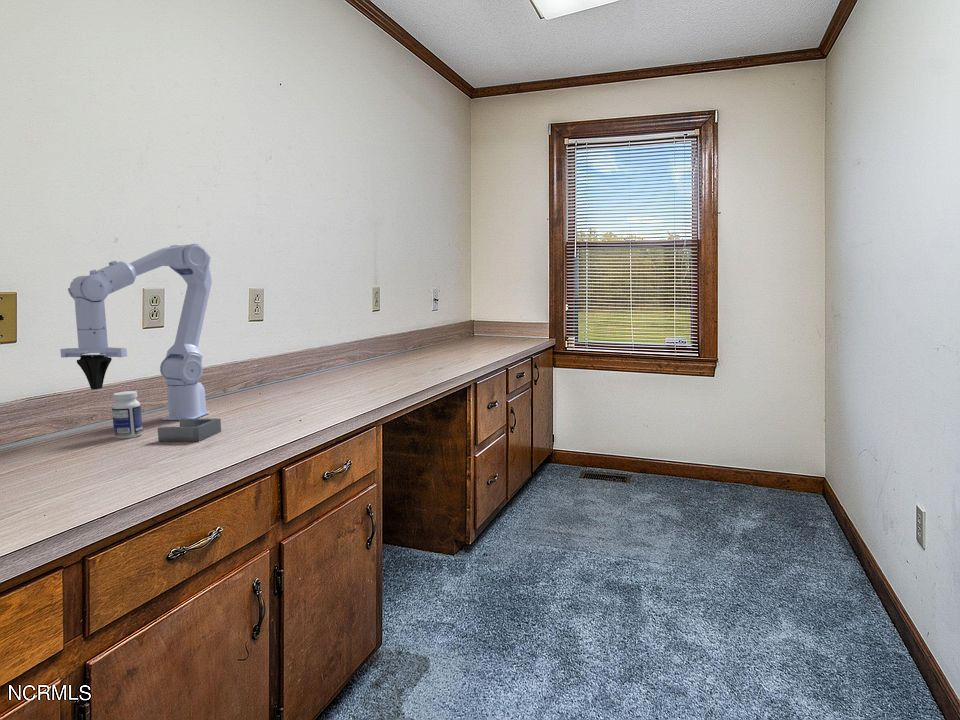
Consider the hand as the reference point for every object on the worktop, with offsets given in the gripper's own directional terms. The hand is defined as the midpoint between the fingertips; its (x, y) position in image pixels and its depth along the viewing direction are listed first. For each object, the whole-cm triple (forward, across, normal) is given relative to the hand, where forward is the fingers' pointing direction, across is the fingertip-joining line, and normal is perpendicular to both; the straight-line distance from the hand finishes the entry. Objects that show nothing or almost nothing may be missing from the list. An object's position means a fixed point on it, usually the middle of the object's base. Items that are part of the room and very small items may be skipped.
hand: (96, 388), depth 147 cm
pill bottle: (+11, +8, -2) cm, 14 cm away
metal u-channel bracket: (+10, +22, -2) cm, 24 cm away
